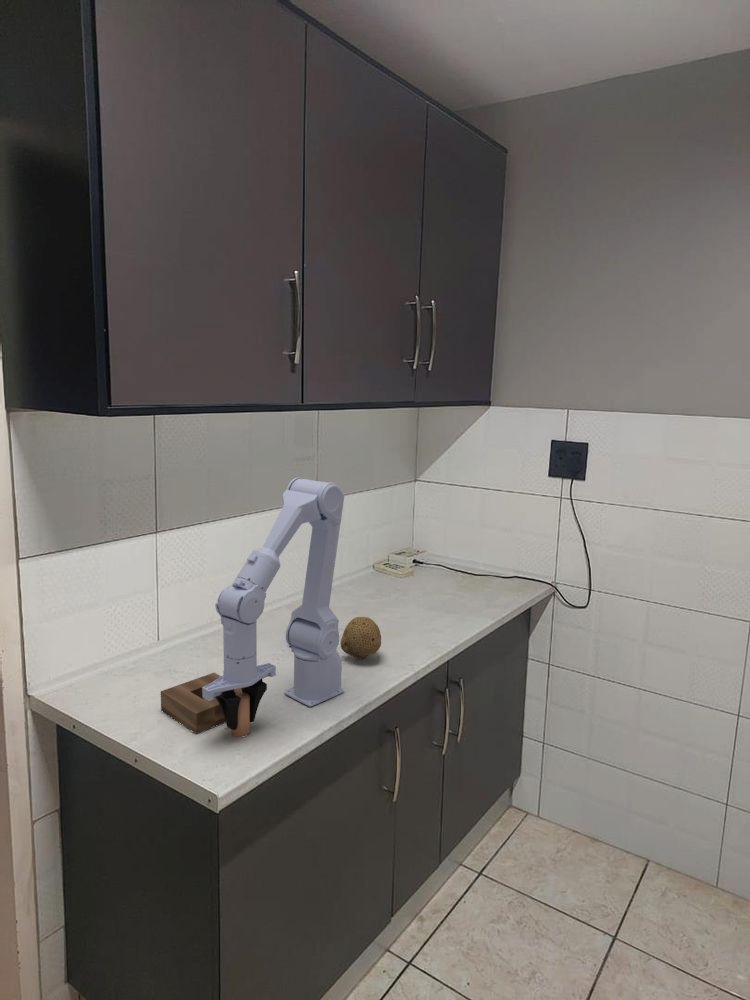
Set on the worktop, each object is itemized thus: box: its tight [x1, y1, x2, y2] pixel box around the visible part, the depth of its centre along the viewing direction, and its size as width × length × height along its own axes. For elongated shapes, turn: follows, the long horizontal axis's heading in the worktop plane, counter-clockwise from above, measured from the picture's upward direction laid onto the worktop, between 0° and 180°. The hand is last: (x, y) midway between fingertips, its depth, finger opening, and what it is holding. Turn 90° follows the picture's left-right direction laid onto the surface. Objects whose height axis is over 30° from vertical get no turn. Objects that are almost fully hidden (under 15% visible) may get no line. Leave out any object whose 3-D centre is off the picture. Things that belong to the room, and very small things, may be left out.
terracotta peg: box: [231, 693, 251, 738], centre depth 123 cm, size 3×3×7 cm
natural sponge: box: [340, 616, 382, 660], centre depth 156 cm, size 9×9×10 cm
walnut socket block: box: [160, 672, 242, 735], centre depth 130 cm, size 12×12×4 cm
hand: (240, 723), depth 123 cm, fingers open, 3 cm apart
